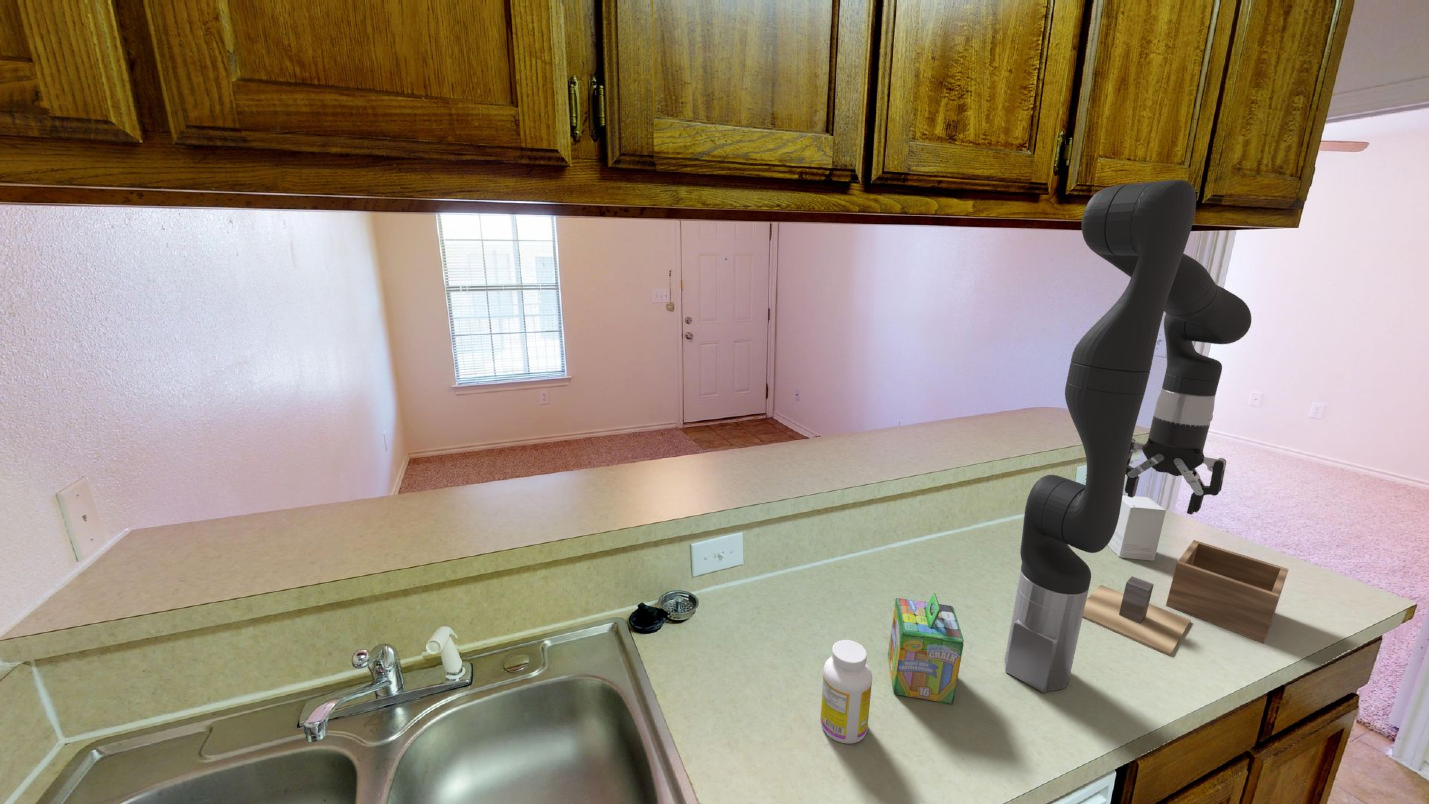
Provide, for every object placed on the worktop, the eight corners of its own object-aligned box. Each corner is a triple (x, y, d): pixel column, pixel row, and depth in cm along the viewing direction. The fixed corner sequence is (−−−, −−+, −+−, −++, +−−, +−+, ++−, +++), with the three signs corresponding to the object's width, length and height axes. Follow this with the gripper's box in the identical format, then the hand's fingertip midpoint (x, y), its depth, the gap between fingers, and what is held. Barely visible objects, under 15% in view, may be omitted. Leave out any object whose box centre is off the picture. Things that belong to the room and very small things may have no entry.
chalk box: (887, 655, 94) (895, 578, 90) (944, 664, 92) (955, 586, 88) (891, 696, 85) (901, 613, 81) (955, 707, 83) (968, 622, 79)
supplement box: (1155, 561, 124) (1167, 510, 121) (1118, 557, 126) (1129, 507, 122) (1137, 545, 131) (1149, 496, 128) (1103, 542, 133) (1113, 493, 129)
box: (1263, 643, 98) (1278, 596, 96) (1165, 605, 108) (1177, 562, 106) (1274, 612, 107) (1288, 569, 104) (1183, 580, 117) (1193, 539, 115)
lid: (1169, 658, 95) (1179, 618, 93) (1073, 616, 106) (1081, 579, 104) (1189, 624, 104) (1199, 587, 102) (1099, 588, 115) (1107, 554, 113)
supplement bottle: (859, 707, 83) (866, 634, 80) (873, 745, 76) (881, 667, 73) (815, 708, 83) (820, 635, 79) (825, 746, 76) (831, 668, 73)
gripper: (1125, 411, 97) (1106, 496, 101) (1233, 431, 87) (1207, 525, 91) (1137, 405, 102) (1119, 486, 106) (1241, 423, 91) (1216, 513, 95)
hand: (1160, 504), depth 98 cm, fingers open, 8 cm apart
